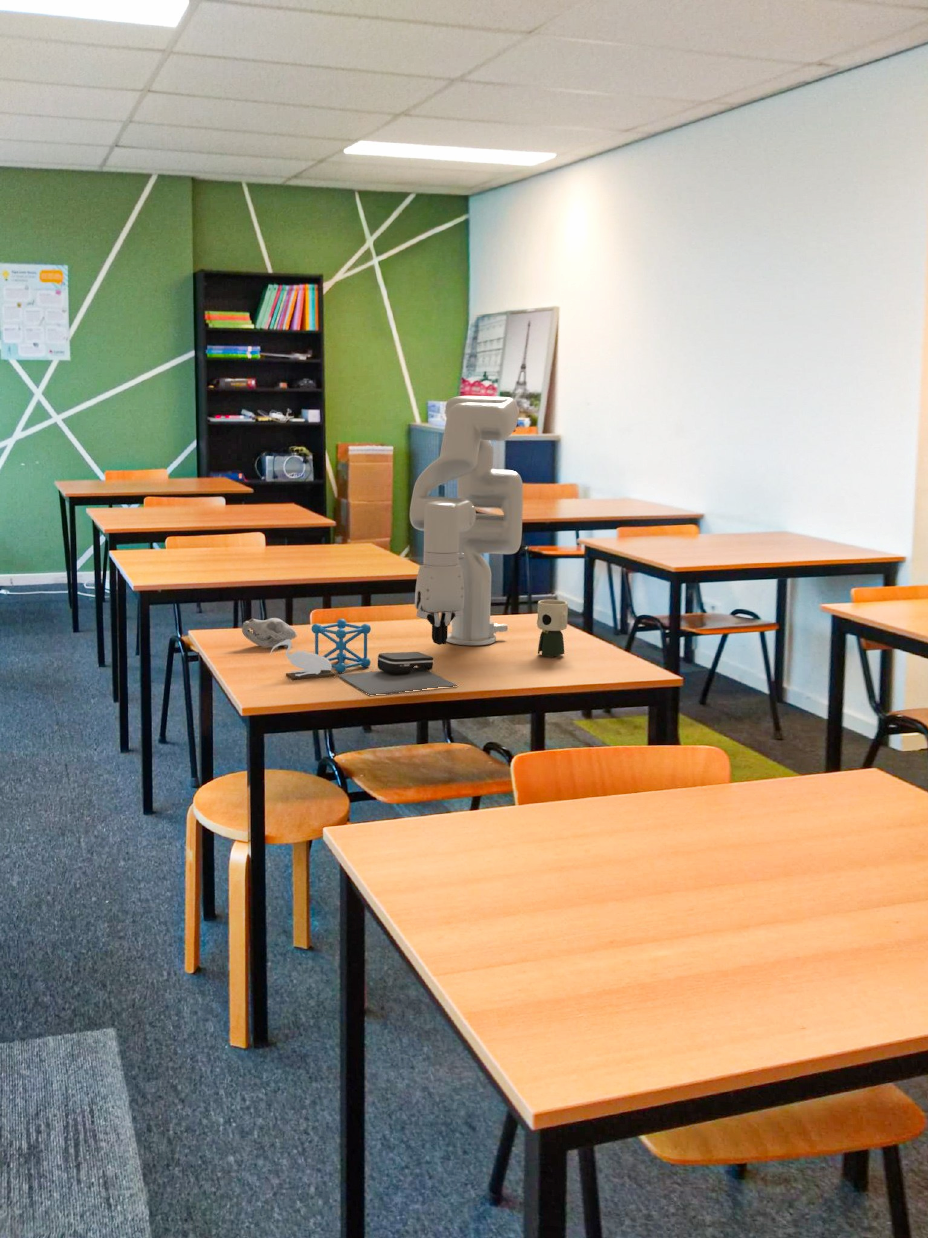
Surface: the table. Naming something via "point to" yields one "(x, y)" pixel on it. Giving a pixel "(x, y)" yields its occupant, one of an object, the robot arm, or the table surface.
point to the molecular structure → (343, 643)
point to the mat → (395, 681)
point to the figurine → (307, 664)
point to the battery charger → (403, 662)
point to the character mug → (552, 626)
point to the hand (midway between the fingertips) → (439, 643)
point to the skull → (268, 632)
